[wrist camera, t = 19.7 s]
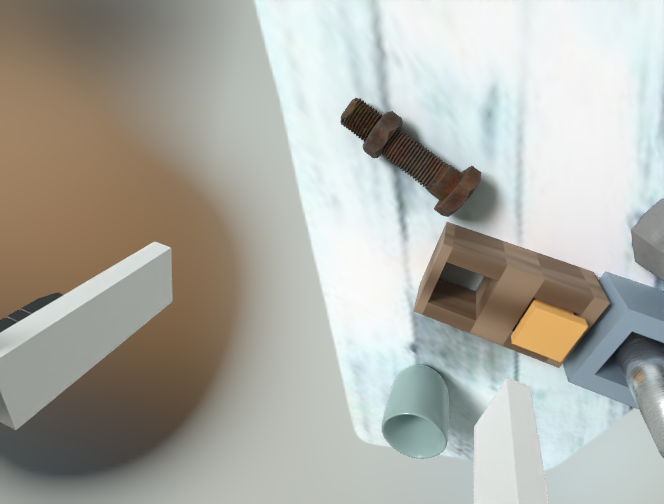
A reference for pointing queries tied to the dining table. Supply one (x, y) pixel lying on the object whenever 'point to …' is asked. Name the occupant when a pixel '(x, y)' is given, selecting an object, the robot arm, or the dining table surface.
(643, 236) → the coffeepot
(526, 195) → the dining table surface
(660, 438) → the brushed steel rod
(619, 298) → the block
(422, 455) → the cup
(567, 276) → the socket block
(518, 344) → the release button
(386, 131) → the bolt
